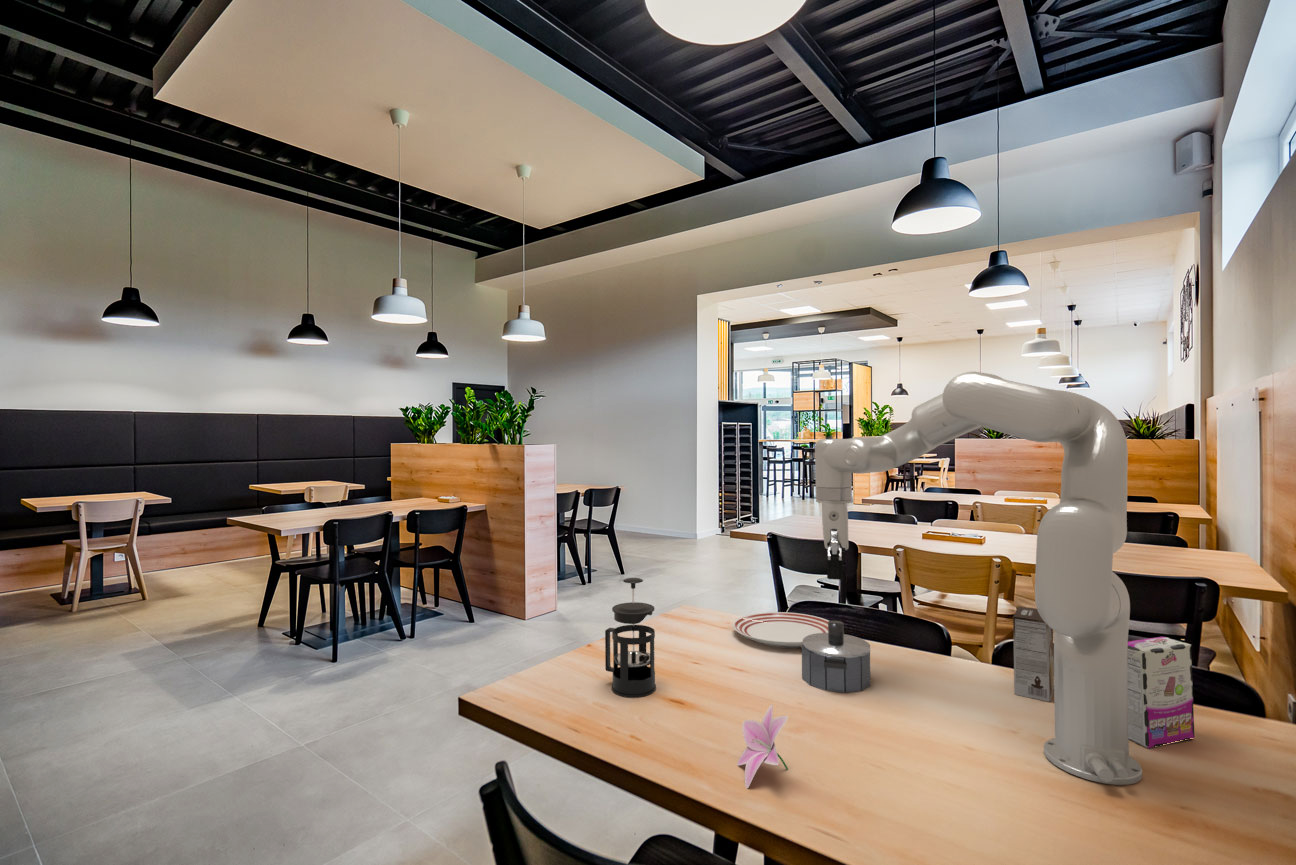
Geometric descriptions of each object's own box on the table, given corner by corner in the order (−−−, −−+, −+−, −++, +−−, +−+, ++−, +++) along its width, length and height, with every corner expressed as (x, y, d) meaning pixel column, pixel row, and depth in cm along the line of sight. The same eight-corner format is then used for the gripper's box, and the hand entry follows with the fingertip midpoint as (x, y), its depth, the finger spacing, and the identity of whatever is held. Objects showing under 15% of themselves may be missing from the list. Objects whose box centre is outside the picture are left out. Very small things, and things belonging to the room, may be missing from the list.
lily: (747, 751, 103) (722, 707, 101) (813, 735, 99) (788, 688, 97) (743, 814, 91) (715, 765, 90) (816, 798, 88) (788, 747, 86)
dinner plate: (713, 629, 166) (712, 617, 166) (792, 616, 178) (792, 605, 178) (775, 663, 141) (774, 648, 141) (862, 644, 153) (862, 631, 153)
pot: (872, 698, 120) (871, 663, 121) (800, 690, 125) (799, 656, 125) (868, 668, 136) (867, 637, 136) (804, 662, 141) (804, 632, 141)
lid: (872, 666, 122) (872, 635, 122) (801, 659, 126) (801, 629, 126) (868, 643, 135) (868, 616, 135) (804, 638, 139) (803, 611, 139)
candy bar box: (1163, 727, 108) (1162, 635, 108) (1195, 740, 103) (1194, 644, 103) (1116, 735, 105) (1115, 641, 105) (1147, 749, 100) (1145, 650, 100)
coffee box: (1018, 680, 129) (1017, 605, 129) (1054, 687, 125) (1053, 610, 125) (1013, 695, 122) (1012, 615, 122) (1051, 703, 118) (1050, 621, 118)
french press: (666, 684, 128) (665, 576, 129) (647, 701, 120) (646, 586, 120) (617, 675, 133) (616, 571, 134) (596, 691, 125) (595, 580, 125)
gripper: (852, 499, 122) (854, 584, 121) (851, 492, 138) (852, 567, 138) (814, 498, 124) (816, 582, 124) (817, 492, 140) (818, 565, 140)
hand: (835, 574), depth 131 cm, fingers open, 9 cm apart
